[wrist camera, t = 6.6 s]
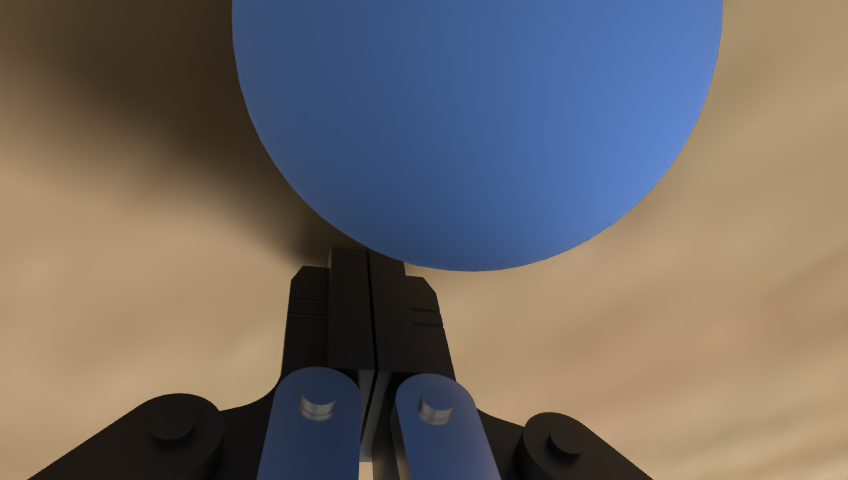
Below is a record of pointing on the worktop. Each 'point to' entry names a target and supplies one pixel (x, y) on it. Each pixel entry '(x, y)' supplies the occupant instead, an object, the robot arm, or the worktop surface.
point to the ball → (474, 115)
